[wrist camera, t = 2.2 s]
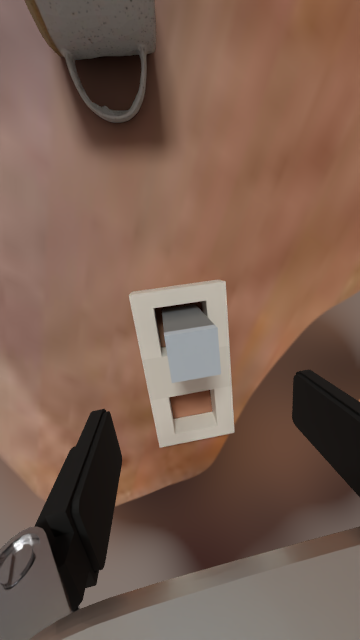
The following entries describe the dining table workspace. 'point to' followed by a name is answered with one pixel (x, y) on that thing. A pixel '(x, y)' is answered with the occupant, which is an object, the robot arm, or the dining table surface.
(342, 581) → the robot arm
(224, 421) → the jack panel
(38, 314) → the dining table surface
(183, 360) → the plug
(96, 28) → the ceramic mug
